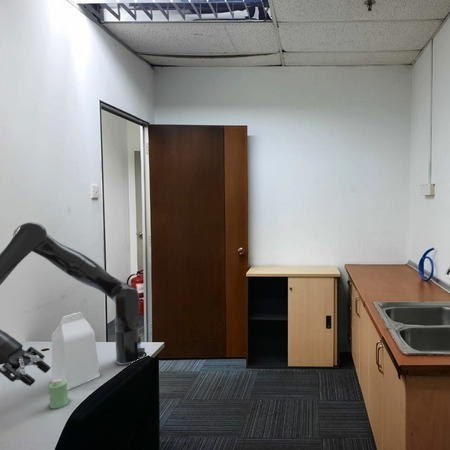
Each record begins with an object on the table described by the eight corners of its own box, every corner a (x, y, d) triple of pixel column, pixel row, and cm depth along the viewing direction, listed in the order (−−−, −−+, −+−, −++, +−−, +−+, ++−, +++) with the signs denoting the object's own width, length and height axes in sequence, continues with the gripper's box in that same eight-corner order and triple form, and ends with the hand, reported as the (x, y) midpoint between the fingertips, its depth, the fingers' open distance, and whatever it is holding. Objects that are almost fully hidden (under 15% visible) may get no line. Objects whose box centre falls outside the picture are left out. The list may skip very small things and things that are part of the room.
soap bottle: (70, 398, 118) (69, 375, 117) (64, 407, 113) (62, 382, 113) (54, 400, 117) (52, 377, 116) (47, 409, 112) (45, 385, 111)
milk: (65, 390, 123) (61, 321, 121) (51, 382, 129) (47, 316, 127) (99, 376, 133) (96, 312, 131) (85, 368, 139) (81, 307, 138)
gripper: (-7, 347, 104) (36, 379, 107) (23, 330, 118) (60, 358, 121) (-26, 365, 104) (18, 397, 106) (7, 345, 118) (45, 374, 120)
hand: (40, 376), depth 114 cm, fingers open, 8 cm apart
